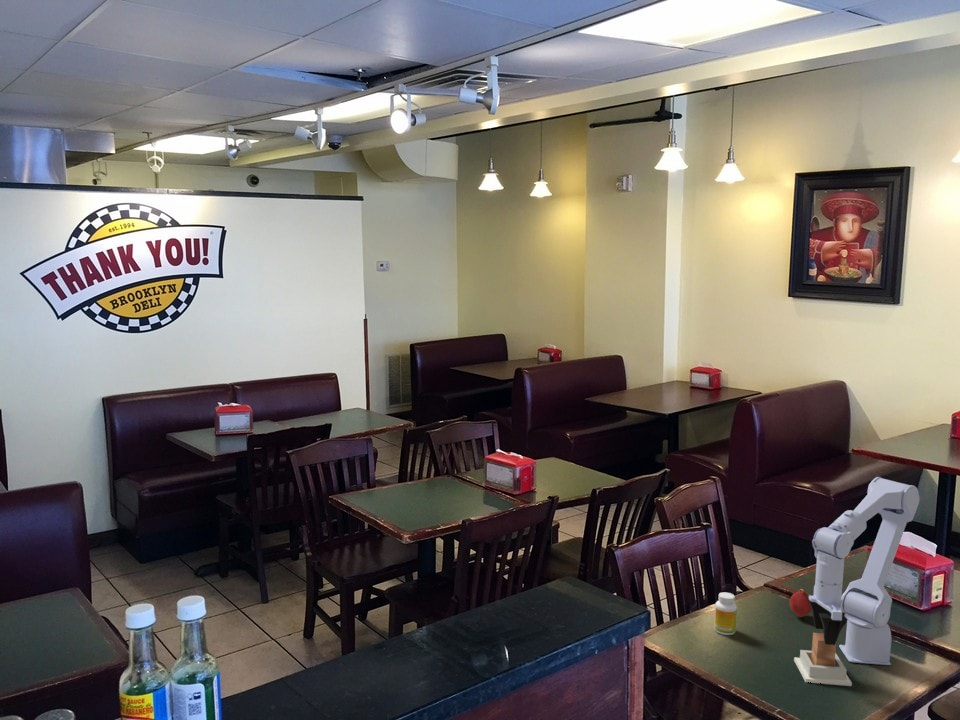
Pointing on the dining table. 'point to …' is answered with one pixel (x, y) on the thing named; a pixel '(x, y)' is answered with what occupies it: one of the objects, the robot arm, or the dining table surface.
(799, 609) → the onion
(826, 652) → the peg
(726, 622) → the supplement bottle
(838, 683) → the socket
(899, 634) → the dining table surface
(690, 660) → the dining table surface
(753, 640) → the dining table surface
